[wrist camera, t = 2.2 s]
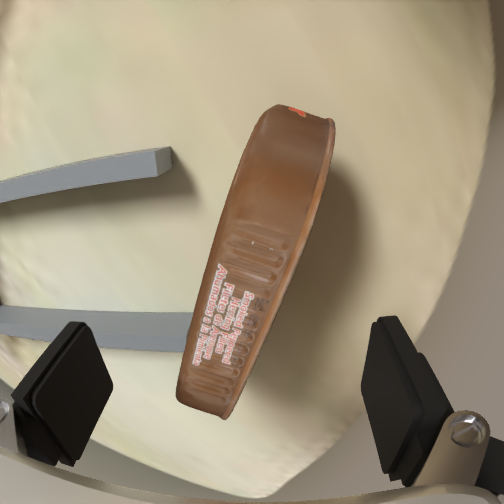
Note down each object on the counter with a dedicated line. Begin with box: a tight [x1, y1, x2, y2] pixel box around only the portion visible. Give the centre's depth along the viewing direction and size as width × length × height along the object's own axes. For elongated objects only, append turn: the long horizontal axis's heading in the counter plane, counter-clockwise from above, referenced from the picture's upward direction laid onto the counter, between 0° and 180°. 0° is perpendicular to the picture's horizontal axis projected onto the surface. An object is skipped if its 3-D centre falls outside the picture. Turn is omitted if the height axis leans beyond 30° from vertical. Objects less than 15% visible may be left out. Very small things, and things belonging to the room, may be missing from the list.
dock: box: [0, 146, 193, 352], centre depth 18 cm, size 11×20×2 cm, turn 94°
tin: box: [176, 104, 335, 420], centre depth 14 cm, size 15×3×8 cm, turn 163°
